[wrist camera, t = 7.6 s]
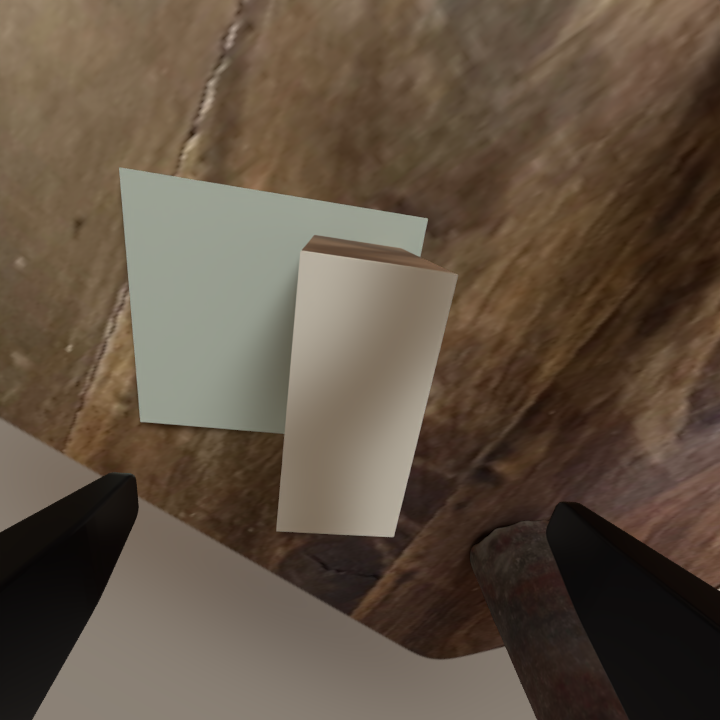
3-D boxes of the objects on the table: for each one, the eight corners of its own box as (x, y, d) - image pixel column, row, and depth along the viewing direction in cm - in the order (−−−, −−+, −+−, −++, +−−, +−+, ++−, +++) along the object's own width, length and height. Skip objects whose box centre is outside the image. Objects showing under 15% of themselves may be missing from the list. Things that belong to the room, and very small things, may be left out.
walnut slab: (401, 248, 17) (458, 274, 9) (370, 416, 20) (393, 537, 12) (314, 234, 16) (300, 251, 9) (297, 410, 19) (276, 531, 12)
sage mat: (424, 218, 17) (427, 218, 16) (380, 436, 21) (382, 442, 20) (127, 169, 15) (119, 167, 15) (145, 415, 19) (140, 421, 19)
